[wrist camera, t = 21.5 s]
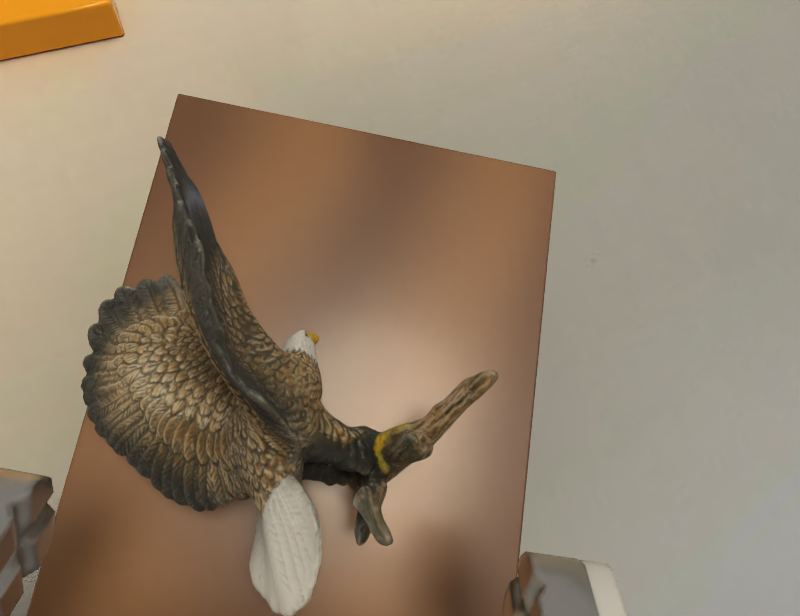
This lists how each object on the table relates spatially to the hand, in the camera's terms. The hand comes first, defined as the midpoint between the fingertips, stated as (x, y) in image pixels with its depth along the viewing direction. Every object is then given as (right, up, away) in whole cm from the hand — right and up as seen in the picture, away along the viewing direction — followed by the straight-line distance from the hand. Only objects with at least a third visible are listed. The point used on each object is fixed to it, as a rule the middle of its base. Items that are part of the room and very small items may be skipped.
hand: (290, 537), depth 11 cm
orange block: (-16, +19, +20) cm, 32 cm away
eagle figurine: (-2, +2, +7) cm, 7 cm away
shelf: (-1, -1, +16) cm, 16 cm away
